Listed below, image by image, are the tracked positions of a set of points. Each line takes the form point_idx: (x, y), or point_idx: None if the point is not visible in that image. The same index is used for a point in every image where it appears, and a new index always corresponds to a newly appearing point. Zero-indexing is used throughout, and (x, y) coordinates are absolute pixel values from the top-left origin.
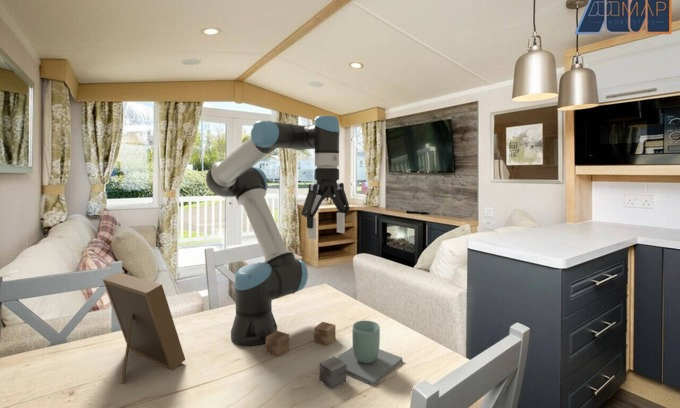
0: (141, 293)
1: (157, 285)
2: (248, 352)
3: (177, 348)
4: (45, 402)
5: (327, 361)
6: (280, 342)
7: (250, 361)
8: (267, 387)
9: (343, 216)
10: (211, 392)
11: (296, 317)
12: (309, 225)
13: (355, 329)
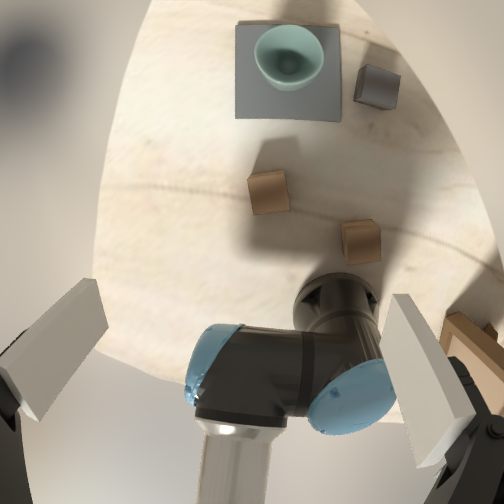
0: None
1: None
2: (386, 272)
3: (463, 328)
4: None
5: (383, 98)
6: (373, 227)
7: (404, 247)
8: (439, 171)
9: (20, 350)
10: (475, 229)
11: (229, 302)
12: (466, 377)
13: (322, 63)
